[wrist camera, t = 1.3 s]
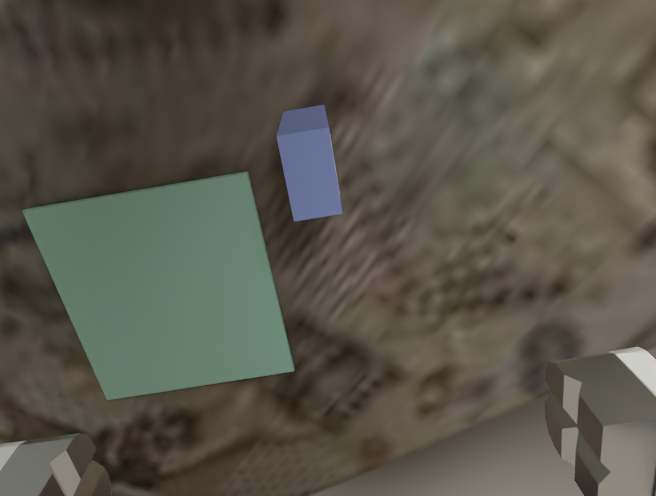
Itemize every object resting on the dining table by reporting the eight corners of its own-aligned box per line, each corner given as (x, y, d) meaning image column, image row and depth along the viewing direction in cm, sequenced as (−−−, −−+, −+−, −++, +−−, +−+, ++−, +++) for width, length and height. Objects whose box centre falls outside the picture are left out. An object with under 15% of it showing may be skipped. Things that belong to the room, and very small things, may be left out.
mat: (25, 208, 30) (22, 210, 30) (248, 171, 30) (247, 172, 30) (109, 396, 36) (107, 400, 36) (294, 367, 36) (294, 371, 36)
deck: (282, 111, 29) (275, 136, 22) (324, 104, 28) (329, 127, 22) (296, 180, 30) (293, 221, 24) (335, 173, 30) (343, 213, 24)
